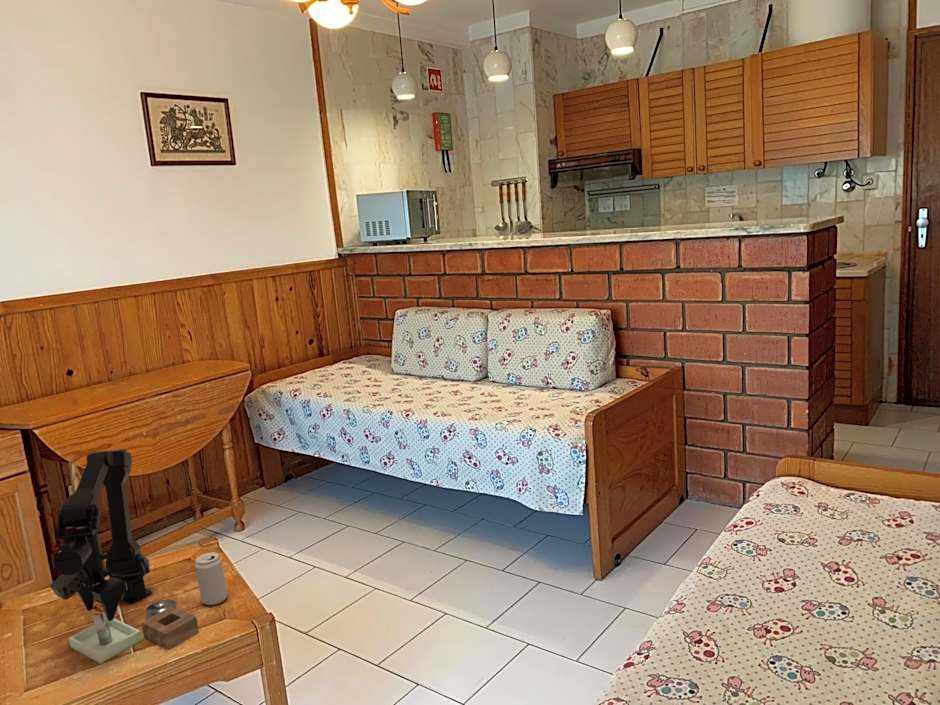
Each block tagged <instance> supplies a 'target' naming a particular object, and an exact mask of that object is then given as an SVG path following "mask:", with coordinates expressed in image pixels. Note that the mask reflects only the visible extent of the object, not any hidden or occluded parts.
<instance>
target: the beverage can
mask: <svg viewBox="0 0 940 705" xmlns="http://www.w3.org/2000/svg"><path fill="white" fill-rule="evenodd" d="M222 561H223V560H222V557H220V554H219V553H218V552H216V551H215V552H211V551H210V552H206V553H203V554H201V555H199V556H198V557H197V558H196V559H195V565H194V568H195V572H196V579H197V584H198V589H199V594H200V601H201V603H202V604H204V605H206V606H217V605H219V604H221V603H223V602H224V601H225V600H226V598H227V597H228V590H227V589H228V588H227V585H226V578H225V571H224V568H223V567H224V565H223V562H222Z"/></svg>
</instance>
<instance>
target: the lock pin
mask: <svg viewBox="0 0 940 705" xmlns="http://www.w3.org/2000/svg"><path fill="white" fill-rule="evenodd" d="M91 614H92V618H93V622H94V625H95V627H96V632H97V636H98V640H99V645H101V646H104V645H108V644H109V643H111V642H112V636H111V631H110V627H109V622H108V619H107V617H106V614H105V612H104V609H103V606H102V604H97V605H95V606H93V608H92V610H91Z"/></svg>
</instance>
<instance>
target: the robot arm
mask: <svg viewBox="0 0 940 705" xmlns="http://www.w3.org/2000/svg"><path fill="white" fill-rule="evenodd" d="M132 464H133V456H132V454H131V453H130V452H129V451H127V449H124V448H121V449H112V450H101V451H93V452H90V453H88V454H87V455H86V464H85V467H84V470H83V471H82V475H81V477H80V479H79V481H78V485H77V487H76V489H75V491H74V492H73V493H72V494H71V495H69V496H68V497H67V498H65V500H64V502H63V504H62V505H61V507H60V509H59V510H58V514H57V516H58V518H57V527H56V541H63V540H64V542H63V543H61V545H60V547H59V548H60V551H59V552H57V554H56V556H54V559H53V560H54V561H53V566H54V568H55V570H56V571H57V572H58V573H60V574H61V575H60V576H59V577H57V578H56V579H55V580H54V581H53V582H51V584H50V586H49V587H50V589H51V590H52V591H53V593H54V594H55V595H56V596H57V597H58V598H60V599H61V600H64V601H67V600H69V599H71V598H72V596H74V595H76V594H77V595H78V597H79V599H80V600H81V602H82V603H83V604H82V605H84V607H85V609H86V610H87V611H88V612H90V611H92V608H93V607H94V603H95V602H96V603H99V604H100V605H102V606H103V609H104V612H105V614H106V617H107V619H108V621H111V620H113V619H114V618H115V616H116V613H117V610H118V608H119V607H118V606H119V603H120V601H121V602H123V603H125V604H128V605H131V604H134V603H136V602H138V601H140V600H141V599H143V598H145V597H147V596H149V595H152V593H153V591H152V590H150V589H148V588H146V584H145V578H144V577H145V576H146V575H148V574H149V573H150V572H151V568H150V560H149V559H148V558H147V557H145V555H144V554H143V553H142V549H141V546H140V544H138V543H137V541H136V540H135V539H134V538H133V533H132V526H131V517H130V516H131V515H130V508H129V500H128V499H129V498H128V493H127V492H128V491H127V490H128V489H127V480H128V478H129V476H130V474H131V472H132ZM103 485H104V487H105V492H106V501H107V508H108V509H107V510H108V511H107V512H108V519H109V527H110V535H111V544H110V547H109V549H108V550H107V551H106V553H105V552H102V546H101V543H100V542H101V541H100V537H99V532H98V530H99V526H100V521H101V520H100V519H101V512H102V511H101V507H100V506H99V505H100V504H99V502H98V498H99V496H100V492H101V490H102V487H103ZM75 528H76V529H75ZM66 529H67V530H66ZM104 560H106V561H104ZM106 577H109V578H108V579H106Z"/></svg>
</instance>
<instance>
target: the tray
mask: <svg viewBox="0 0 940 705" xmlns="http://www.w3.org/2000/svg"><path fill="white" fill-rule="evenodd" d="M108 622H109V627H110V631H111V636H112V642H111V643H109V644H108V645H104V646H101V645H99V640H98V636H97V632H96V627H95V624H93V625H91V626H89V627H87V628H85V629H83V630H81V631H79V632H78V633H76V634H74V635H71V636H69V637H68V642H69V645H70V646H69V647H70V648H71V649H72V650H74V651H76V652H78V653H80V654H81V655H83V656H85V657H86V658H88V659H90V660H91V661H94V662H96V663H97V664H98V665H102V664H103V663H105V662H107V661H109V660H110V659H112V658H114V657H116V656H117V655H119V654H120V653H123V652H124V651H127V650H128V649H130V648H132V647H133V646H135V645H137V644H138V643H140V642H142V641H143V638H142V633H141V630H140V629H137V628H135V627H133V626H131V625H129V624H127V623H125V622H123V621H121V620H119V619H117V618H115V617H114V619H113V620H111V621H108Z"/></svg>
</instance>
